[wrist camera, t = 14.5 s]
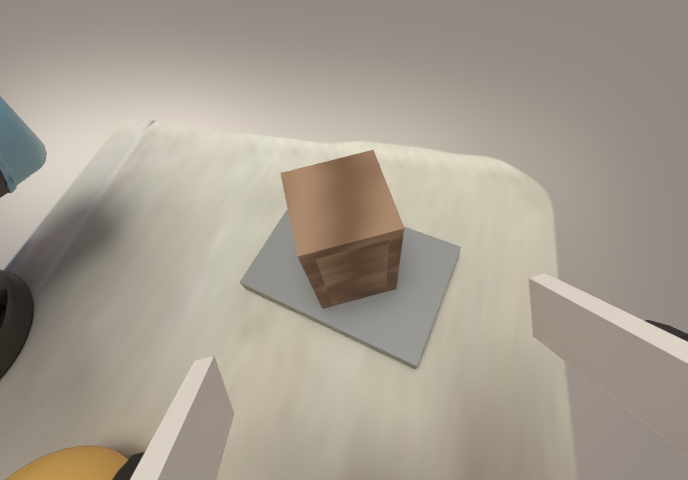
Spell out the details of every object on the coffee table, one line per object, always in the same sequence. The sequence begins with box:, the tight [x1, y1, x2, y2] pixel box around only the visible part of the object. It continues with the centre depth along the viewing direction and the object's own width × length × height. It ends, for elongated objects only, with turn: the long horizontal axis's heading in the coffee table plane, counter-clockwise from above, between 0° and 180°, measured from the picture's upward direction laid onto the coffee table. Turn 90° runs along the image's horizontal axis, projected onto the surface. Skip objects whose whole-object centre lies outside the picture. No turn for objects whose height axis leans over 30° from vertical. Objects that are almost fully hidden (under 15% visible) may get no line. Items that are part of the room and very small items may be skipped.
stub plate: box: [240, 209, 461, 369], centre depth 31 cm, size 18×12×8 cm, turn 64°
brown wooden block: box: [281, 150, 404, 309], centre depth 28 cm, size 7×7×11 cm
